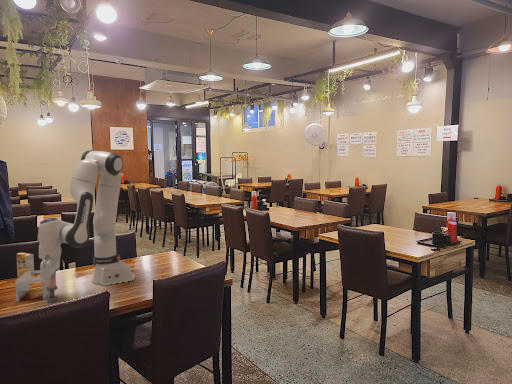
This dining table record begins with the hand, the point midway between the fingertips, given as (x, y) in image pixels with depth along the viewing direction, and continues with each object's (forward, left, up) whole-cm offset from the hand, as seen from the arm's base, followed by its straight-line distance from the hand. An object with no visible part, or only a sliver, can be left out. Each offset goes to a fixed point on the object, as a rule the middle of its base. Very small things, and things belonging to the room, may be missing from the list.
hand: (50, 281), depth 166 cm
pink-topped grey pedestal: (0, 0, -10) cm, 10 cm away
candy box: (+21, -34, -10) cm, 41 cm away
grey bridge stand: (+10, -11, -10) cm, 18 cm away
